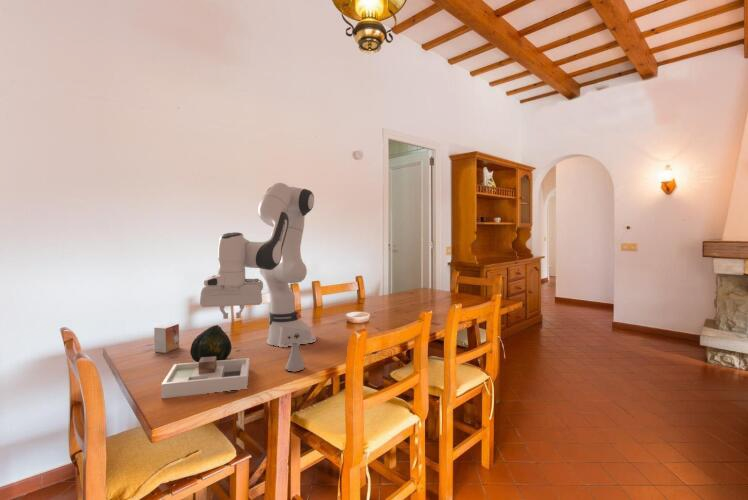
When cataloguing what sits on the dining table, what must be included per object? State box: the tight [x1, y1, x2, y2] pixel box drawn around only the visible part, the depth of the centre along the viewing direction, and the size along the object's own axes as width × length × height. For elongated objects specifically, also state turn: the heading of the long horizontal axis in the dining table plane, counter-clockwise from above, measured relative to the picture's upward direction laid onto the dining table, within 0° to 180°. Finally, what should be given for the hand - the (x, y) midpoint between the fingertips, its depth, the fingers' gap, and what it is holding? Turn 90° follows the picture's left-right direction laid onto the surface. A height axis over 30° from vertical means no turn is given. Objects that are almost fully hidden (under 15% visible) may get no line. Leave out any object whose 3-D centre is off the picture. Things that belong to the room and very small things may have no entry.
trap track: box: [160, 357, 250, 399], centre depth 123 cm, size 25×17×4 cm
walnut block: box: [199, 356, 216, 374], centre depth 126 cm, size 5×5×4 cm
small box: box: [153, 322, 180, 354], centre depth 155 cm, size 8×6×10 cm
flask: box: [284, 342, 306, 372], centre depth 136 cm, size 7×7×10 cm
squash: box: [189, 324, 232, 362], centre depth 142 cm, size 14×15×15 cm
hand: (232, 318), depth 128 cm, fingers open, 3 cm apart
